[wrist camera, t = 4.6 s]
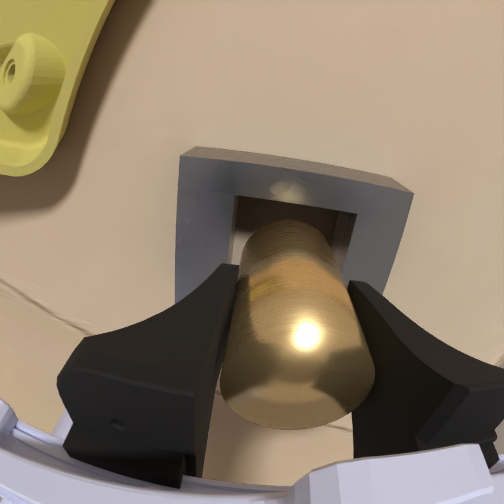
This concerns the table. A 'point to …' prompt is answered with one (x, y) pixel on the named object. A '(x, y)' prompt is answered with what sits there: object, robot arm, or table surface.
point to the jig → (292, 191)
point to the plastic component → (42, 74)
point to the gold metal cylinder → (293, 333)
